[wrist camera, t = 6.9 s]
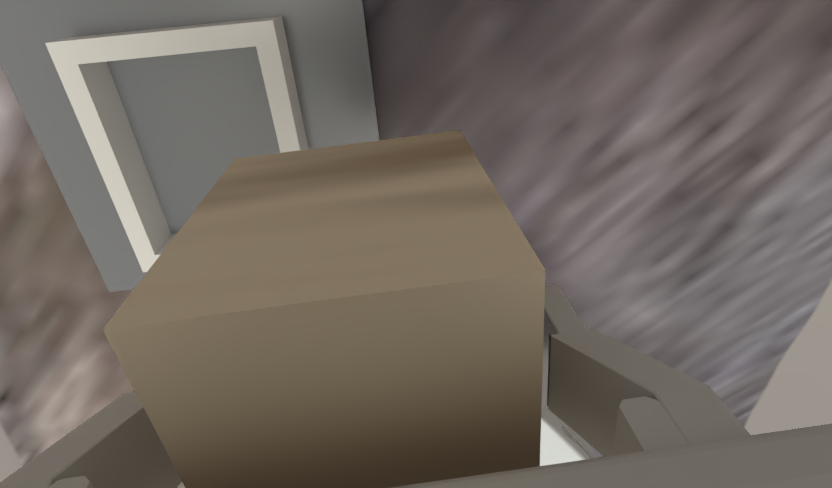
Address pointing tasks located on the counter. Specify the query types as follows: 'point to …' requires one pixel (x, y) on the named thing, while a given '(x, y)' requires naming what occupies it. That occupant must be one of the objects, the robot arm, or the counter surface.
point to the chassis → (177, 102)
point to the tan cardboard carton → (342, 323)
